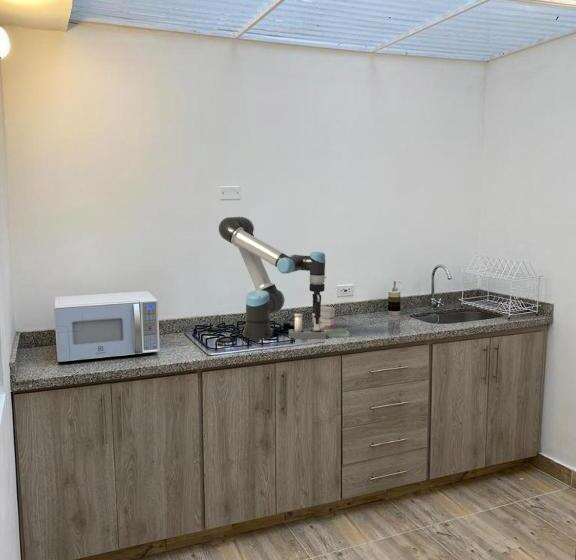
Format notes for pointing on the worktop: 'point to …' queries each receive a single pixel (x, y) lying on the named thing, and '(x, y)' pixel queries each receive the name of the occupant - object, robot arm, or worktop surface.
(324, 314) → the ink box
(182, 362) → the worktop surface
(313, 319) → the fuse
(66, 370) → the worktop surface
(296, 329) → the cylinder
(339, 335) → the parts tray
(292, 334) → the fuse block
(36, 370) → the worktop surface
